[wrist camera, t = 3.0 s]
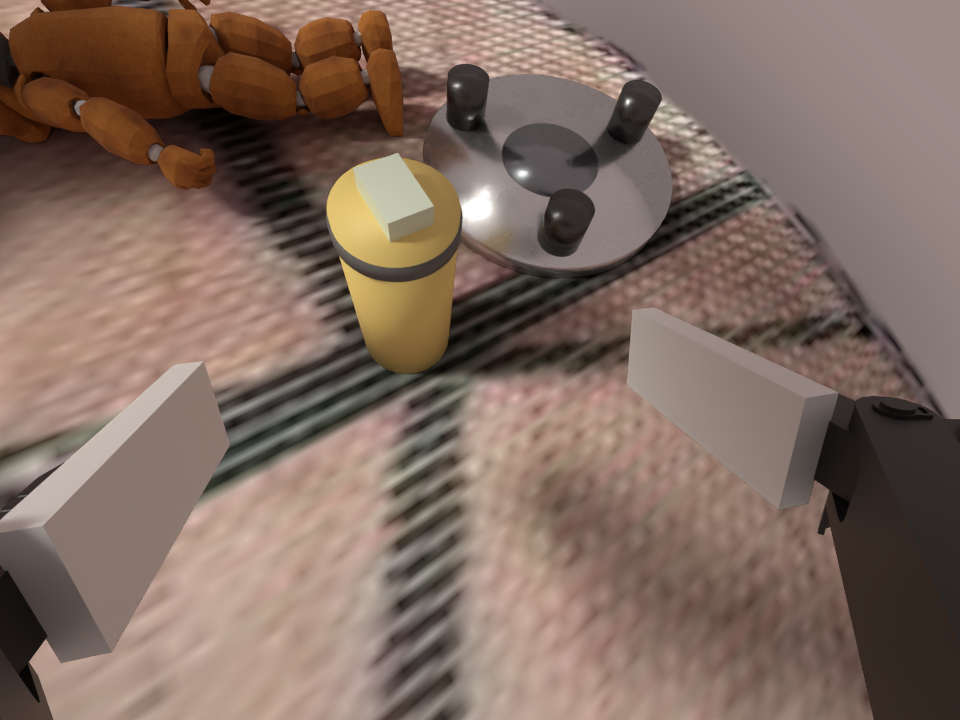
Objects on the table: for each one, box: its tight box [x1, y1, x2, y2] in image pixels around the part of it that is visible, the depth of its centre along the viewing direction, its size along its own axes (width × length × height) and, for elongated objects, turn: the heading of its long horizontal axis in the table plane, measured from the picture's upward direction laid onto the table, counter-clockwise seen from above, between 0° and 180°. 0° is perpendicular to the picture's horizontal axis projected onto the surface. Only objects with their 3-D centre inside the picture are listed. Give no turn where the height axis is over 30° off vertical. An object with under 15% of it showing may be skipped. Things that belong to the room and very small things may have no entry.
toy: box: [0, 0, 403, 190], centre depth 30 cm, size 20×7×30 cm
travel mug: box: [326, 153, 463, 374], centre depth 22 cm, size 5×5×12 cm
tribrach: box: [423, 64, 672, 278], centre depth 31 cm, size 18×18×4 cm
